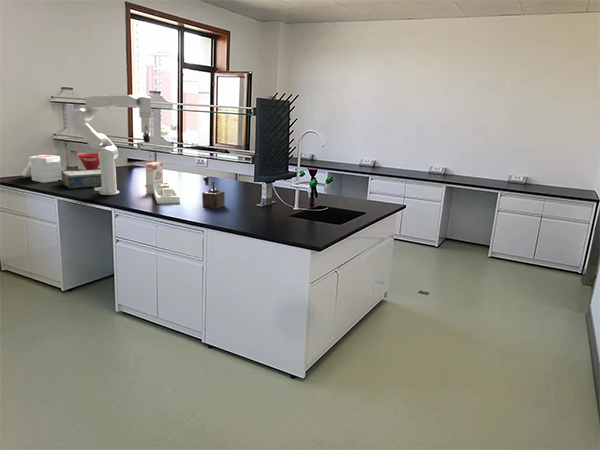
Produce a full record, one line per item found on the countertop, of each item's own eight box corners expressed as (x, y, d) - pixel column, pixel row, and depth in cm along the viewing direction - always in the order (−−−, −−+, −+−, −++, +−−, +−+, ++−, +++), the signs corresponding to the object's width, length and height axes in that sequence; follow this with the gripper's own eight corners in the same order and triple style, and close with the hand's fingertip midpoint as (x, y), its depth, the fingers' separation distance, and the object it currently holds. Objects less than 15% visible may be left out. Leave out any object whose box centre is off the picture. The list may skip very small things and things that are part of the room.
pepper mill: (225, 206, 295) (225, 178, 290) (215, 209, 285) (215, 180, 281) (205, 203, 301) (205, 175, 297) (195, 206, 291) (195, 177, 287)
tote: (157, 205, 289) (157, 197, 288) (153, 195, 315) (153, 188, 314) (179, 204, 294) (179, 196, 293) (174, 195, 320) (174, 188, 319)
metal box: (115, 186, 344) (115, 172, 341) (68, 189, 325) (67, 175, 322) (107, 181, 360) (107, 168, 358) (62, 184, 341) (61, 170, 339)
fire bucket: (78, 180, 355) (75, 141, 348) (76, 176, 372) (73, 139, 364) (108, 179, 366) (106, 141, 358) (105, 176, 382) (103, 139, 374)
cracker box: (154, 194, 320) (152, 164, 314) (146, 193, 321) (144, 163, 316) (163, 190, 333) (162, 162, 328) (156, 190, 334) (155, 161, 329)
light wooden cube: (161, 197, 306) (161, 185, 304) (160, 196, 310) (160, 184, 308) (169, 197, 308) (169, 185, 306) (168, 195, 312) (168, 184, 310)
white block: (163, 202, 293) (162, 189, 291) (162, 200, 298) (161, 188, 296) (173, 201, 295) (173, 189, 293) (172, 199, 301) (171, 187, 299)
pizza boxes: (43, 175, 370) (41, 153, 366) (66, 180, 355) (64, 156, 351) (19, 178, 355) (16, 154, 350) (41, 183, 340) (39, 158, 335)
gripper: (138, 114, 311) (139, 140, 315) (140, 115, 295) (141, 142, 300) (150, 115, 313) (151, 140, 318) (152, 116, 298) (153, 142, 302)
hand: (146, 141), depth 309 cm, fingers open, 9 cm apart
